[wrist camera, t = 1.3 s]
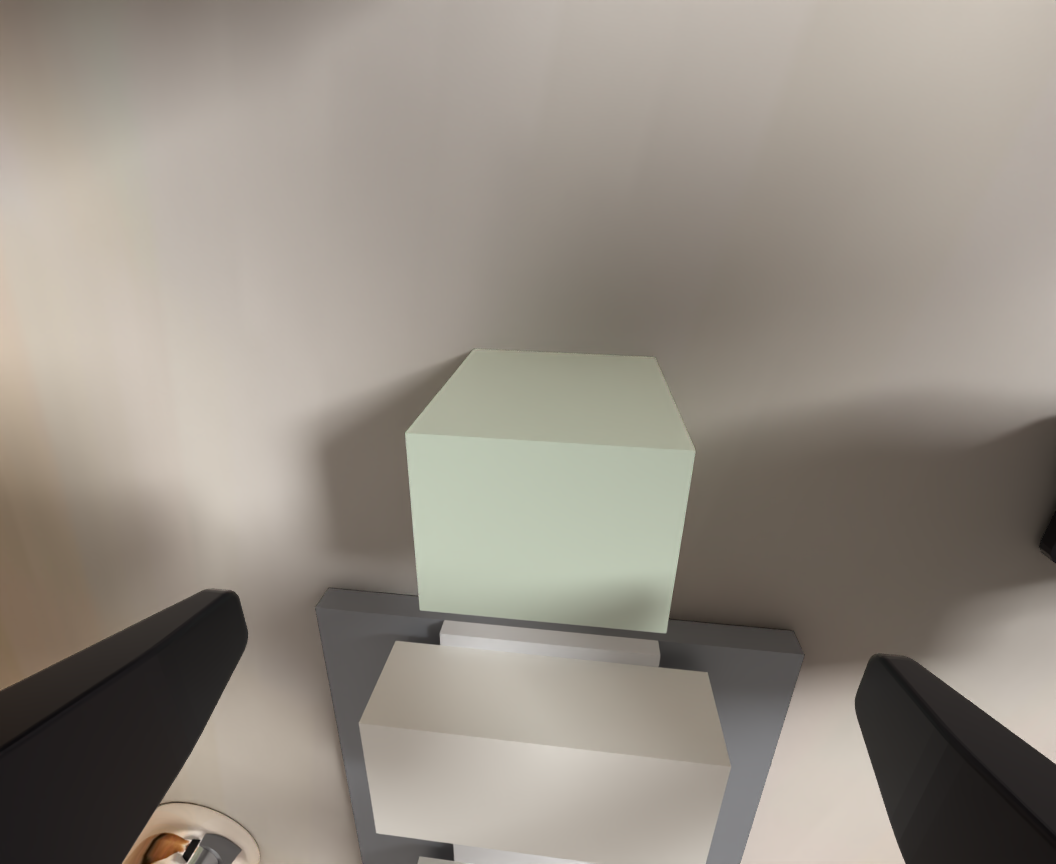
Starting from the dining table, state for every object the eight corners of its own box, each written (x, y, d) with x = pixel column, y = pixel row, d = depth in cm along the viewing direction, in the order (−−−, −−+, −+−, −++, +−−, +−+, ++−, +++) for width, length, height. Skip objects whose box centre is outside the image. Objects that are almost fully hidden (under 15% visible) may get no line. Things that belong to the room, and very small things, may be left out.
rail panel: (793, 630, 17) (858, 768, 13) (708, 924, 24) (732, 1074, 20) (328, 588, 19) (252, 698, 14) (377, 876, 26) (336, 1006, 22)
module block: (655, 356, 14) (696, 451, 9) (639, 485, 16) (666, 633, 10) (474, 348, 15) (404, 432, 9) (476, 474, 16) (419, 610, 11)
